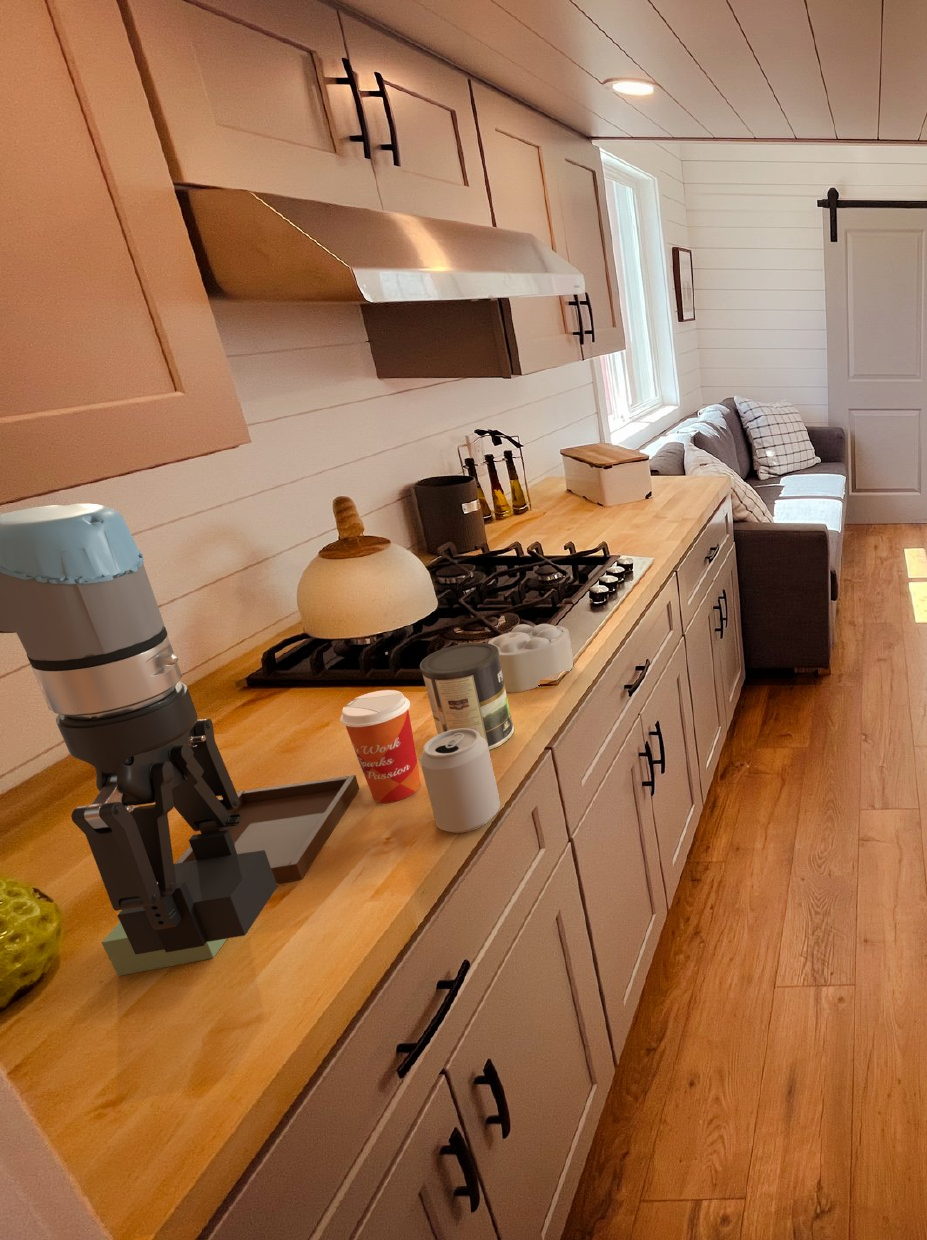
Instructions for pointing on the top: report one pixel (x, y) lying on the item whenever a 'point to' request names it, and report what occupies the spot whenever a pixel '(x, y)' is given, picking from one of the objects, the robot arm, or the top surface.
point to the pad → (151, 954)
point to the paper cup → (384, 743)
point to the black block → (212, 898)
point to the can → (460, 780)
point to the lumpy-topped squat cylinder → (532, 655)
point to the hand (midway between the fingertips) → (209, 916)
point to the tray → (289, 822)
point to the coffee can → (468, 691)
